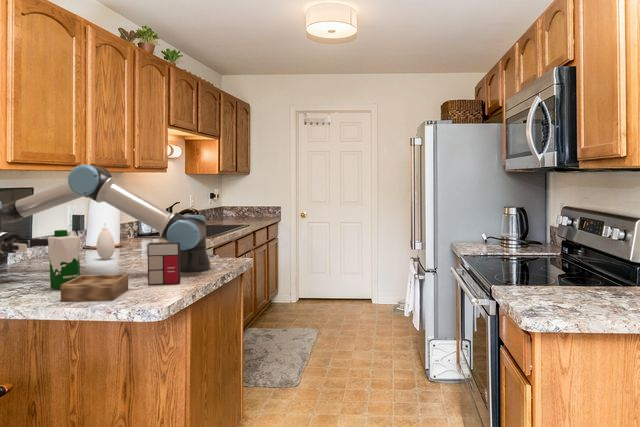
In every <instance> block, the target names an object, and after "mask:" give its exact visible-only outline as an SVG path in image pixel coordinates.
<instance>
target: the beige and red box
mask: <svg viewBox="0 0 640 427" xmlns="http://www.w3.org/2000/svg"><path fill="white" fill-rule="evenodd" d="M146 247H147V252H146V253H147V285H148V286H154V285H155V286H159V285H160V286H161V285H162V286H163V285H179V284H180V283H181V271H180V242H168V241H165V242H163V241H162V242H161V241H159V242H158V241H157V242H148V243H147V244H146Z"/></svg>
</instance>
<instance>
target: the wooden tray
mask: <svg viewBox="0 0 640 427" xmlns="http://www.w3.org/2000/svg"><path fill="white" fill-rule="evenodd" d="M60 289H61V290H60V302H97V301H98V302H99V301H101V302H102V301H103V302H104V301H105V302H106V301H114V300H116V299H117V298H119V297H120V296H122V295H123V294H124V293H125V292H127V291H128V290H129V274H87V275H85V274H83V275H82V274H80V276H78V277H76V278H74V279H72V280H70V281H68V282H66V283H63V284H61V285H60Z"/></svg>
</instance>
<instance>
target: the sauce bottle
mask: <svg viewBox="0 0 640 427" xmlns="http://www.w3.org/2000/svg"><path fill="white" fill-rule="evenodd" d="M106 225H107V224H106V223H104V227H102V228H101V231H100V233H99V234H98V236H97V239H96V240H97V241H96V252H97V254H98V256H99V258H101V259H102V260H105V261H107V260H109V259H111V258H112V257H113V255H114V252H115V250H116V249H115V248H116V246H115V239H114V237H113V235H112V233H111V231H110V230H109V228H108V227H106Z"/></svg>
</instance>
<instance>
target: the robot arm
mask: <svg viewBox="0 0 640 427" xmlns="http://www.w3.org/2000/svg"><path fill="white" fill-rule="evenodd" d="M83 197H84V198H85V199H87V198H89V199H91V200H92V201H94V202H96V203H98V204H101V203H103V202H104V203H106V204H107V205H110V206H112V207H114V208H115V209H117V210H119V211H120V212H122V213H124V214H126V215H128V216H129V217H131V218H133V219H135V220H137V221H138V222H140V223H141V224H144V225H146V226H148V227H149V228H151V229H153V230H155V231H157V232H158V233H159V236H160V238H161V239H163V240H164V241H165V242H180V272H181V273H182V272H184V273H185V272H186V273H188V272H189V273H191V272H201V271H207V270H206V269H208V270H210V269H211V261H210V257H209V255H208V252H207V227H206V226H207V220H206V216H204V215H199V214H183V215H182V214H180V213H178V212H177V211H175V212H169V211H167V210H166V209H164V208H162V207H160V206H158V205H156V204H155V203H153V202H151V201H150V200H148V199H146V198H144V197H142V196H140V195H139V194H137V193H136V192H134V191H131V190H129V189H128V188H127V187H125V186H123V185H120V184H119V183H118V182H117V180H116V177H115V176H113V175H112V174H111V172H110V171H109V170H108V169H107V168H105V167H103V166H100V165H91V164H88V163H87V164H85V163H84V164H80V165H76V166H75V167H74V168H72V169H71V170H70V172H69V174H68V177H67V182H66V183H63V184H59V185H57V186H54V187H52V188H48V189H46V190H43V191H40V192H37V193H35V194H32V195H31V194H30V195H29V196H26V197H24V198H21V199H17V200H15V201H12V202H9V203H5V204H2V201H1V200H0V254H4V253H6V254H15V253H17V252H19V253H28V249H29V248H31V249H32V248H33V247H49V244H48V238H35V237H32V238H31V237H30V238H28V237H27V238H25V237H21V235H20V234H18V233H16V232H15V233H14V232H6V231H3V224H9V223H17V222H19V221H21V220H23V219H24V218H28V217H30V216H33V215H35V214H38V213H41V212H44V211H47V210H49V209H52V208H53V209H54V208H55V207H58V206H60V205H63V204H67V203H69V202H72V201H74V200H77V199H80V198H83ZM209 268H210V269H209Z"/></svg>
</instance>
